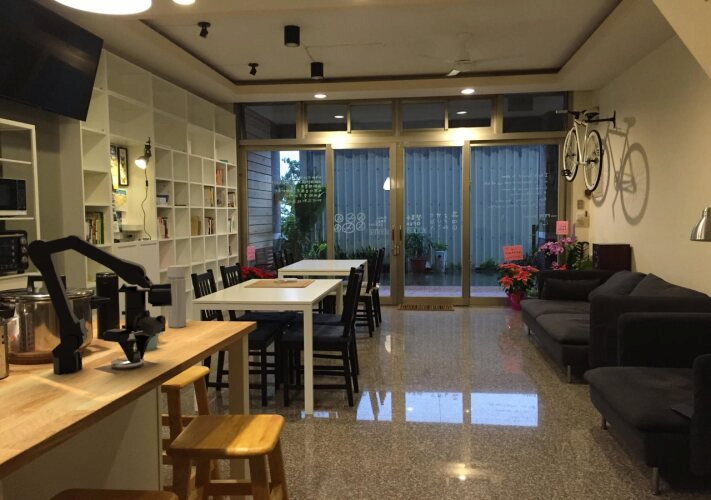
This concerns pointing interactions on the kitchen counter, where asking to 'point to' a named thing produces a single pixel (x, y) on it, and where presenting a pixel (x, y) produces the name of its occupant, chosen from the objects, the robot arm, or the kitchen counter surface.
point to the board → (118, 371)
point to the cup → (150, 343)
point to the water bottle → (177, 296)
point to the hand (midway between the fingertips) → (136, 360)
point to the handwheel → (124, 363)
